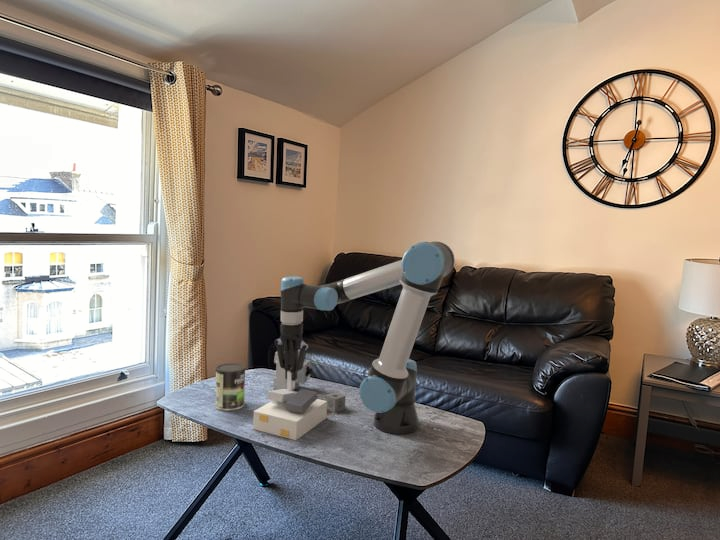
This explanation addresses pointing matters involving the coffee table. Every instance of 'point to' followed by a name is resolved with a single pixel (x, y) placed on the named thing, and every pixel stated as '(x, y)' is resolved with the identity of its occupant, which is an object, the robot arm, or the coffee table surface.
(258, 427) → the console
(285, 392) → the block
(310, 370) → the circuit breaker
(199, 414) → the coffee table surface
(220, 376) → the coffee can
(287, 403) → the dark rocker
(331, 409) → the dice cube
